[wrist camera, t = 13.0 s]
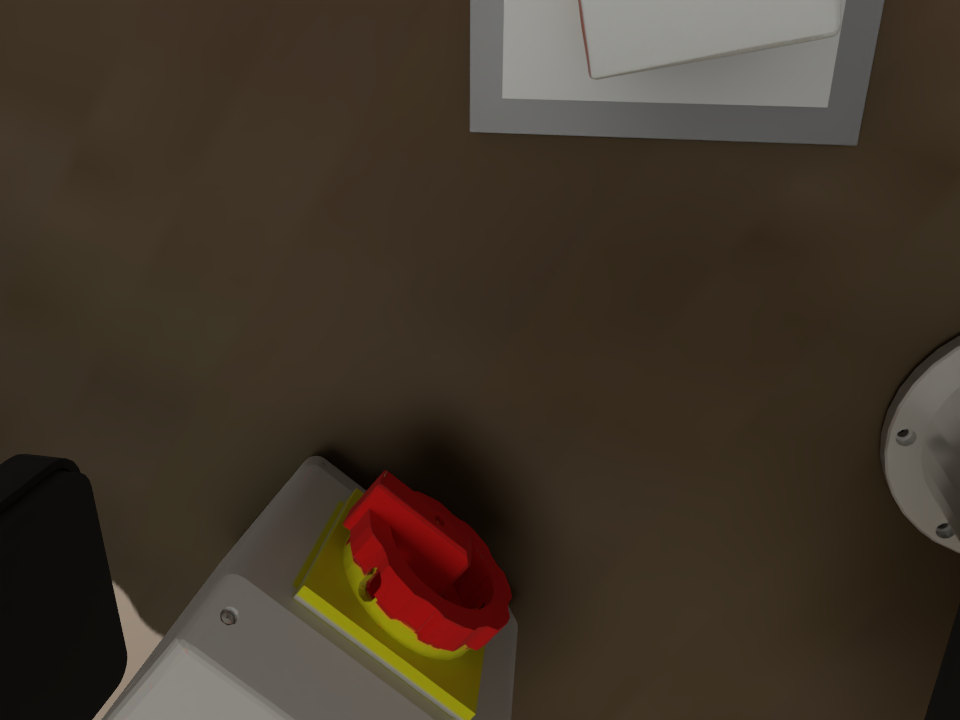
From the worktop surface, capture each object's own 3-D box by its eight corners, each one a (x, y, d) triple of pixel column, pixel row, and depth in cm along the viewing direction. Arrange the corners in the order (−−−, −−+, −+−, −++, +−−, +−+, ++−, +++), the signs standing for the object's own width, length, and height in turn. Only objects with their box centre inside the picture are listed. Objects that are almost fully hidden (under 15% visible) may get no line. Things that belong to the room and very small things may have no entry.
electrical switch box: (578, 529, 47) (592, 811, 28) (419, 685, 51) (337, 1024, 32) (380, 369, 45) (252, 553, 26) (233, 544, 49) (29, 814, 30)
